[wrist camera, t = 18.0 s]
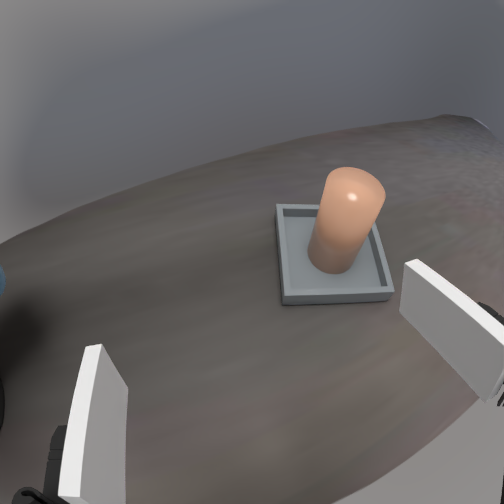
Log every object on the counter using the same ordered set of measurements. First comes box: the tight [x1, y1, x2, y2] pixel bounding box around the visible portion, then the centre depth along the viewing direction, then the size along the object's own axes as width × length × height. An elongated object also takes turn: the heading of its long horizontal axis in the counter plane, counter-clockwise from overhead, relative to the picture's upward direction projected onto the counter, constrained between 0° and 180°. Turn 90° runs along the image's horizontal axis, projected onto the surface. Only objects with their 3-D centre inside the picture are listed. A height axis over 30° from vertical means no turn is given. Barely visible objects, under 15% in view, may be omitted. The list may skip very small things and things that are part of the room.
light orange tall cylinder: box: [307, 167, 385, 274], centre depth 36 cm, size 6×6×12 cm
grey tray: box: [275, 204, 395, 305], centre depth 41 cm, size 14×14×2 cm
